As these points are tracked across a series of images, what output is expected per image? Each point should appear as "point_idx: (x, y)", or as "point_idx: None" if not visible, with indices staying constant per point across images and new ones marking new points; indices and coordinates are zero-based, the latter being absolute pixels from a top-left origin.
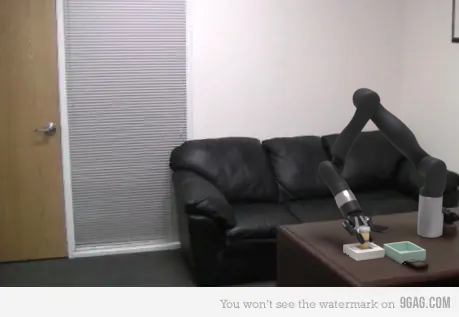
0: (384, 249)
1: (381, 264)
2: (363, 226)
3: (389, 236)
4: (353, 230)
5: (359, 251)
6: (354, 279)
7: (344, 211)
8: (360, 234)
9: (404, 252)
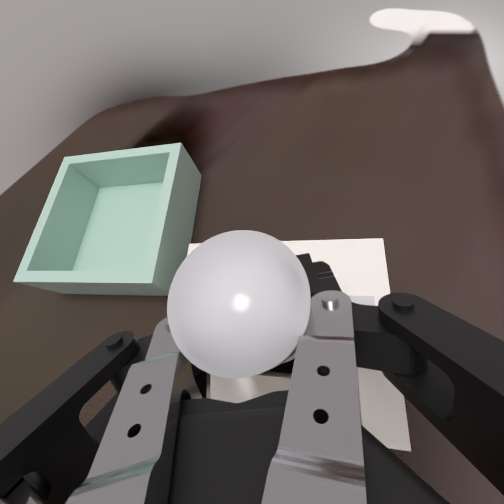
0: (189, 245)
1: (274, 189)
2: (228, 333)
3: None
4: (423, 312)
5: (349, 260)
6: (482, 80)
7: None
8: (317, 288)
9: (156, 151)
